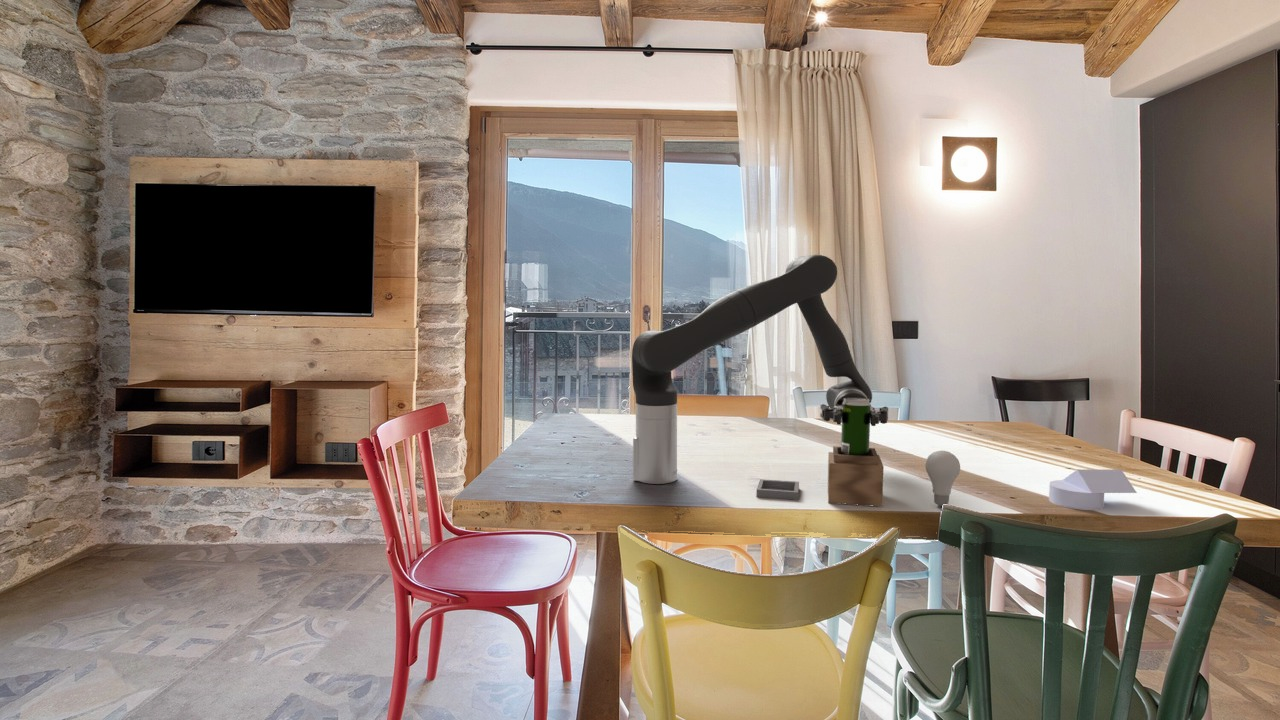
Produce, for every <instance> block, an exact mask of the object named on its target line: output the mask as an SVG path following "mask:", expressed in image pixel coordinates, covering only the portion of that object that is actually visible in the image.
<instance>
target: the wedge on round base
mask: <svg viewBox="0 0 1280 720" xmlns="http://www.w3.org/2000/svg"><path fill="white" fill-rule="evenodd" d="M1048 487H1049V489H1048V501H1049V502H1050V503H1052V504H1054V505H1057V506H1059V507H1065V508H1068V509H1074V510H1081V511H1082V510H1083V511H1097V510H1102V509H1103V508H1104V505H1105V504H1104V503H1105V494H1116V493H1117V494H1137V493H1138V492H1137V490H1136V489H1135V488H1134V486H1133V485H1132V483H1131V482H1130V480H1129V479H1128V477H1127V476H1126V474H1125V473H1124V472H1123V470H1122V469H1076V470H1075V471H1073V472H1072V473H1071V474H1069V475H1068V476H1066V477H1065V478H1063V479H1059V480H1052V481H1050V482H1049V486H1048Z"/></svg>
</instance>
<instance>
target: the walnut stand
mask: <svg viewBox="0 0 1280 720" xmlns="http://www.w3.org/2000/svg"><path fill="white" fill-rule="evenodd" d="M827 456H828V461H827V469H828V470H827V501H828V504H832V503H846V504H858V505H857V506H859V505H873V506H882V507H883V502H884V501H883V496H884V495H883V494H884V464H883V462H882V460H881V457H880V454H878V453H877V450H876V448H875V447H869V456H859V455H841V446H837V445H836V446H835V445H833V447H832V452H831V451H829V452H828V455H827ZM846 504H845V505H846ZM873 506H872V507H873Z"/></svg>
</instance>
